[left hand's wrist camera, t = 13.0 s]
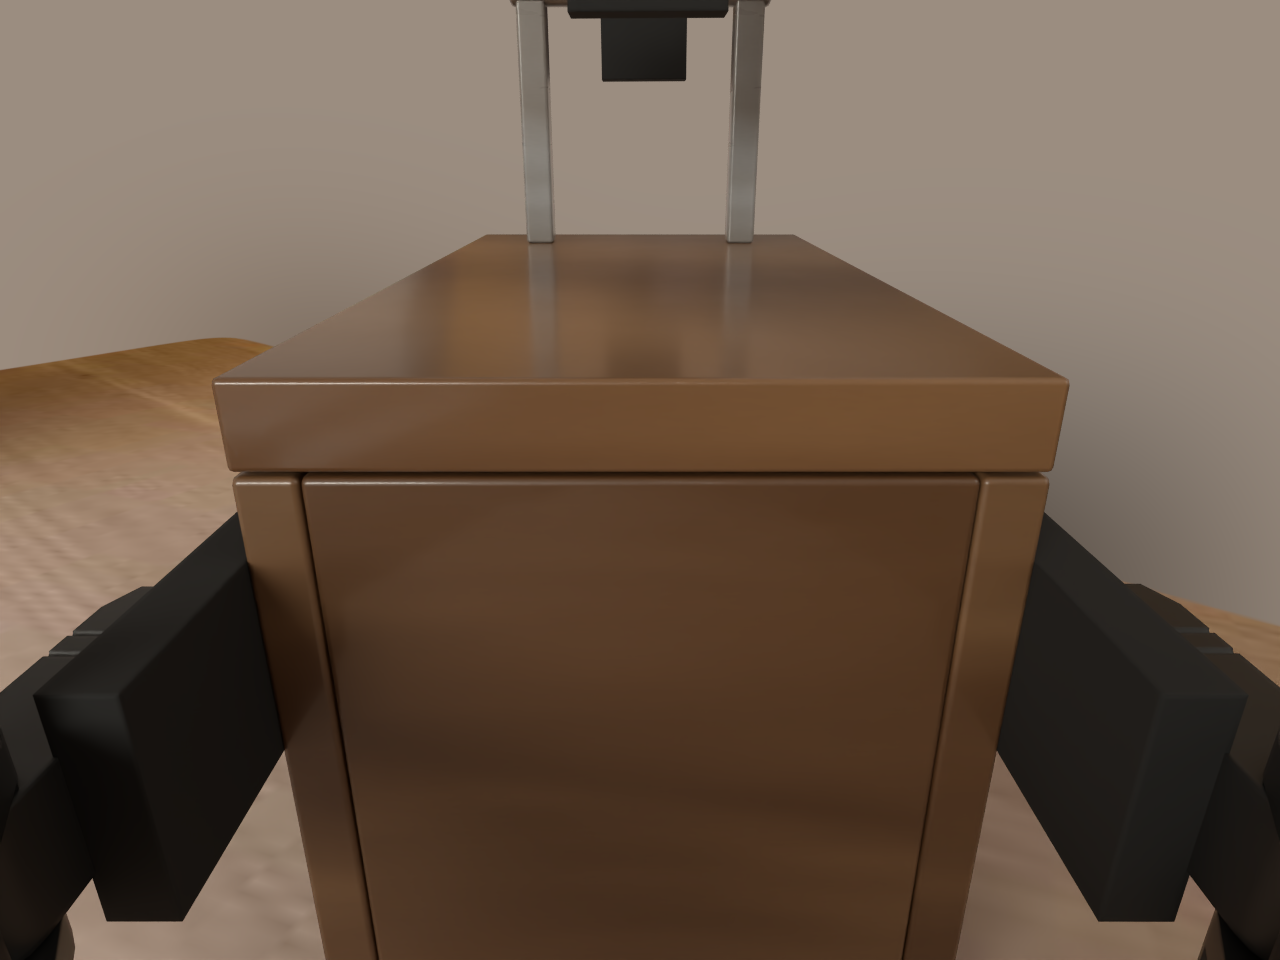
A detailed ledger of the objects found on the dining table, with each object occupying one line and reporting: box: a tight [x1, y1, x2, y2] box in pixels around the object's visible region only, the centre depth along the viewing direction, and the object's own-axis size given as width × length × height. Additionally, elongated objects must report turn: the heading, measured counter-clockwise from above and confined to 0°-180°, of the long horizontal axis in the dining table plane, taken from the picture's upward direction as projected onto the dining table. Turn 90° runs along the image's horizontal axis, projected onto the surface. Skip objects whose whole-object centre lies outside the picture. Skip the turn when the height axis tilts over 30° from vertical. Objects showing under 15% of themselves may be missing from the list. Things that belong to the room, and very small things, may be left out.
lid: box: [212, 0, 1069, 472], centre depth 15 cm, size 17×9×8 cm, turn 0°
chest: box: [232, 472, 1049, 960], centre depth 18 cm, size 16×9×10 cm, turn 0°
